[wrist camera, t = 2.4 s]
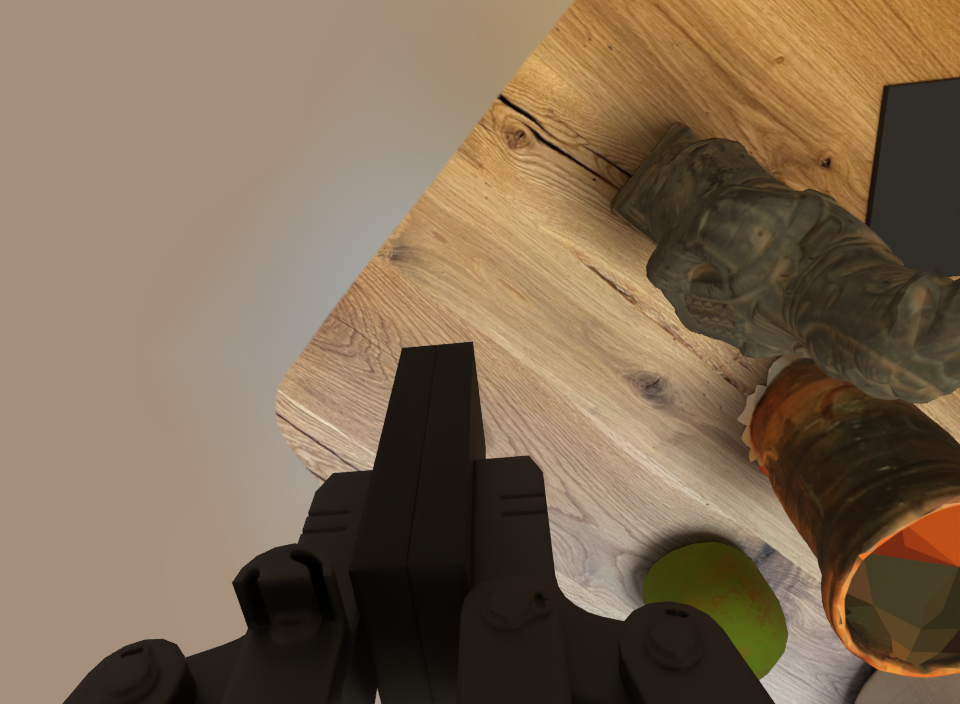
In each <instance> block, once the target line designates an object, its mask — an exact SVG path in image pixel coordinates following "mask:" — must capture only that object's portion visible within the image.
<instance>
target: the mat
mask: <svg viewBox="0 0 960 704" xmlns="http://www.w3.org/2000/svg"><path fill="white" fill-rule="evenodd" d="M866 225H867V226H868V227H869V228H870V229H871V230H872V231H874V232H875V233H876V234H877V235H878V236H879V237H880V238H881V239H882V240H883V241H884V242H885V243H886V244H887V245H888V246H889V247H890V249H891V251H892V252H893V253H894V254H895V255H896V256H897V257H898V258H899V259H900V260H901V261H902V263H903V265H904V266H905V267H909V268H912V269H915V270H919V271H921V272H922V271H927V270H931V269H933V270H938V271H940V272H941V273H943V274H944V275H946V276H947V277H952V276H960V78H953V79H944V80H935V81H927V82H918V83H909V84H900V85H892V86H885V87H884V94H883V101H882V109H881V116H880V124H879V131H878V139H877V146H876V154H875V161H874V169H873V176H872V184H871V192H870V199H869V207H868V214H867V222H866Z"/></svg>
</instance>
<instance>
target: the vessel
mask: <svg viewBox="0 0 960 704" xmlns="http://www.w3.org/2000/svg"><path fill="white" fill-rule="evenodd" d="M746 402H747V405H746V407H745V409H744V410H743V412H742V413H741V414H740V416H739V417H738V418H737V420H738V421H739V422H740V423H742V424H744V425H746V428H745V430H744V432H743V434H742V437H741V440H742V441H743V442H744V443H745V444H746V445H747V446H748V447H749V448H751V449H750V452H749V459H750V462H752V461H754V460H756V459H757V461H758V463H759V466H760V470H761V471H762V472H763V473H765V474H766V475H767V476H768V478H769V480H770V482H771V485H772V489H773V490H774V492H775V494H776V496H777V498H778V499H779V501H780V503H781V504H782V506H783V508H784V510H785V512H786V514H787V515H788V517H789V519H790V520H791V522H792V523H793V524H794V526H795V527H796V529H797V530H798V532H799V533H800V535H801V536H802V538H803V539H804V540H805V542H806V543H807V544H808V546H809V547H810V549H811V550H812V552H813V553H814V555H815V556H816V558H817V559H818V565H819V568H820V571H821V573H822V579H821V594H822V603H823V607H824V610H825V613H826V616H827V619H828V621H829V623H830V625H831V627H832V628H833V630H834V631H835V633H836V634H837V636H838V637H839V638H840V640H841V641H842V643H843V644H844V645H845V647H846V648H847V649H848V650H849V651H850V652H851V653H852V654H854V655H855V656H857V657H859V658H861V659H862V660H864V661H865V662H867V663H868V664H870V665H871V666H873V667H875V668H876V669H878V670H880V671H884V672H889V673H894V674H897V675H900V676H909V677H939V676H944V675H950V674H955V673H960V444H959V443H958V442H957V441H956V440H955V439H954V438H953V437H952V436H951V435H950V434H949V433H948V432H947V431H945V430H944V429H943V428H942V427H941V426H939V425H938V424H937V423H936V422H934V421H933V420H932V419H931V418H929V417H928V416H927V415H926V414H924V413H923V412H922V411H921V410H920V409H919V408H918V407H916V406H915V405H914V404H913V403H908V402H906V401H903V400H901V399H895V400H883V399H878V398H872V397H869V396H868V395H867V394H865V393H864V392H863V391H861V390H860V389H859V388H857V387H856V386H854V385H853V384H851V383H850V382H849V381H840V380H835V379H833V378H832V377H830V376H828V375H826V374H825V373H824V372H823V371H822V370H821V369H820V368H819V367H818V366H817V365H816V364H815V363H814V361H813V359H812V358H803V357H799V356H796V354H787V355H783V356H781V357H780V358H779V359H778V360H776V361H775V362H774V363H773V365H772V366H771V367H770V369H769V371H768V377H767V386H762V385H757V386H756V389H755V393H753V394H751V395H749V396H747V400H746Z"/></svg>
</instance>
